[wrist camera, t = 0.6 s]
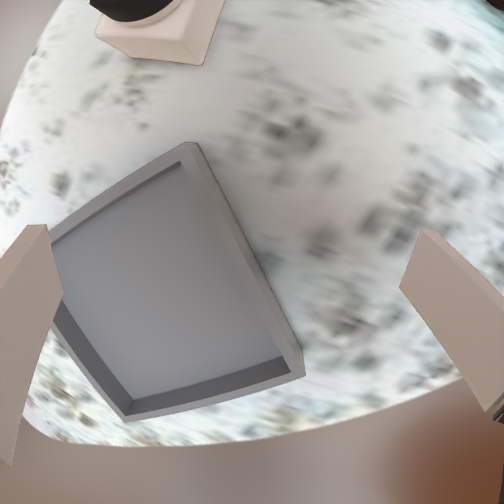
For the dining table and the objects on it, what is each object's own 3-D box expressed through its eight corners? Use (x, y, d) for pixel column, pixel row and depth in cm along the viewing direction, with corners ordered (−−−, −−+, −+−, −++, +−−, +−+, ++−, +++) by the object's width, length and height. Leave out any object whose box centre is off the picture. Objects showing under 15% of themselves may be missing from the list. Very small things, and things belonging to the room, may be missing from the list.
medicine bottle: (226, -1, 21) (199, -78, 10) (203, 66, 23) (155, 12, 12) (154, -6, 21) (97, -69, 9) (130, 58, 23) (53, 17, 12)
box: (197, 143, 25) (185, 142, 21) (302, 351, 31) (305, 375, 27) (34, 249, 29) (12, 261, 25) (135, 401, 35) (124, 422, 31)
